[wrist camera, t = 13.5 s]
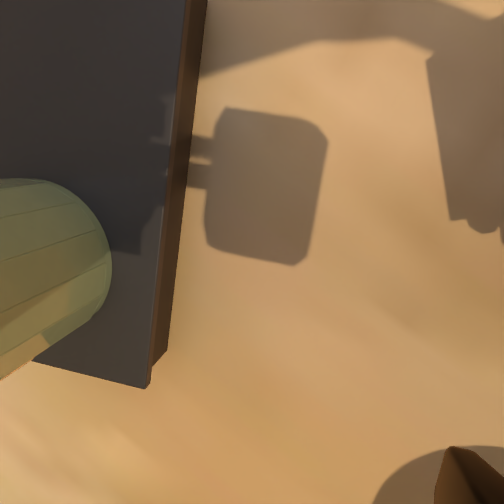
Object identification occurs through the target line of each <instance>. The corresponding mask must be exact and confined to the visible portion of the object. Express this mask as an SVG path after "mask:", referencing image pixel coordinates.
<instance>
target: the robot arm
mask: <svg viewBox="0 0 504 504" xmlns="http://www.w3.org/2000/svg"><path fill="white" fill-rule="evenodd" d="M434 504H504V477H503V476H502V475H500V474H499V473H498V472H497V471H496V470H495V469H494V468H492V467H491V466H490V465H489V464H488V463H487V462H486V461H484V460H483V459H482V458H481V457H480V456H479V455H478V454H476V453H475V452H473V451H471V450H467V449H463V448H459V447H455V446H451V447H449V448H448V449H447V450H446V452H445V455H444V458H443V462H442V465H441V469H440V472H439V476H438V479H437V482H436V486H435V493H434Z"/></svg>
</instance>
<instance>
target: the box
mask: <svg viewBox="0 0 504 504" xmlns="http://www.w3.org/2000/svg"><path fill="white" fill-rule="evenodd" d="M206 6H207V0H0V179H8V178H35V179H42V180H46V181H50V182H53V183H55V184H58V185H60V186H62V187H64V188H66V189H67V190H69V191H71V192H72V193H73V194H75V195H76V196H77V197H79V198H80V199H81V200H82V201H83V202H84V203H85V204H86V205H87V206H88V207H89V208H90V210H91V211H92V212H93V213H94V215H95V216H96V218H97V219H98V221H99V222H100V224H101V226H102V228H103V230H104V232H105V235H106V237H107V240H108V243H109V247H110V252H111V259H112V277H111V284H110V287H109V291H108V294H107V296H106V299H105V301H104V303H103V305H102V306H101V308H100V309H99V311H98V312H97V313H96V314H95V315H94V316H93V317H92V318H91V319H90V320H89V321H88V322H87V323H85V324H84V325H82V326H81V327H79V328H78V329H76V330H75V331H74V332H72V333H71V334H69V335H68V336H67V337H65V338H64V339H62V340H61V341H59V342H58V343H56V344H55V345H53V346H52V347H50V348H49V349H47V350H46V351H44V352H43V353H41V354H40V355H38V356H37V357H36V358H34V359H33V360H31V361H34V362H38V363H41V364H45V365H49V366H53V367H57V368H61V369H65V370H69V371H73V372H77V373H81V374H85V375H89V376H93V377H97V378H101V379H105V380H109V381H113V382H117V383H121V384H125V385H129V386H133V387H137V388H141V389H146V388H147V386H148V385H149V384H150V380H151V371H152V366H153V365H154V364H155V363H156V362H157V361H158V360H159V359H160V357H161V356H162V355H163V354H164V353H165V352H166V351H167V346H168V337H169V328H170V319H171V311H172V302H173V293H174V285H175V276H176V267H177V259H178V250H179V241H180V232H181V224H182V215H183V206H184V198H185V189H186V180H187V172H188V163H189V154H190V145H191V137H192V128H193V119H194V111H195V102H196V93H197V85H198V76H199V67H200V58H201V50H202V41H203V32H204V24H205V15H206Z"/></svg>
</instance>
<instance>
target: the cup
mask: <svg viewBox="0 0 504 504" xmlns="http://www.w3.org/2000/svg"><path fill="white" fill-rule="evenodd" d="M111 277H112V259H111V252H110V247H109V243H108V240H107V237H106V235H105V232H104V230H103V228H102V226H101V224H100V222H99V221H98V219H97V218H96V216H95V215H94V213H93V212H92V211H91V210H90V208H89V207H88V206H87V205H86V204H85V203H84V202H83V201H82V200H81V199H80V198H79V197H77V196H76V195H75V194H73V193H72V192H71V191H69V190H67V189H66V188H64V187H62V186H60V185H58V184H55V183H53V182H50V181H46V180H42V179H35V178H8V179H0V381H1V380H3V379H4V378H6V377H7V376H9V375H10V374H12V373H13V372H15V371H16V370H18V369H19V368H21V367H22V366H24V365H25V364H27V363H28V362H30V361H31V360H33V359H34V358H36V357H37V356H38V355H40V354H41V353H43V352H44V351H46V350H47V349H49V348H50V347H52V346H53V345H55V344H56V343H58V342H59V341H61V340H62V339H64V338H65V337H67V336H68V335H69V334H71V333H72V332H74V331H75V330H76V329H78V328H79V327H81V326H82V325H84V324H85V323H87V322H88V321H89V320H90V319H91V318H92V317H93V316H94V315H95V314H96V313H97V312H98V311H99V309H100V308H101V306H102V305H103V303H104V301H105V299H106V296H107V294H108V291H109V287H110V284H111Z"/></svg>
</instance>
